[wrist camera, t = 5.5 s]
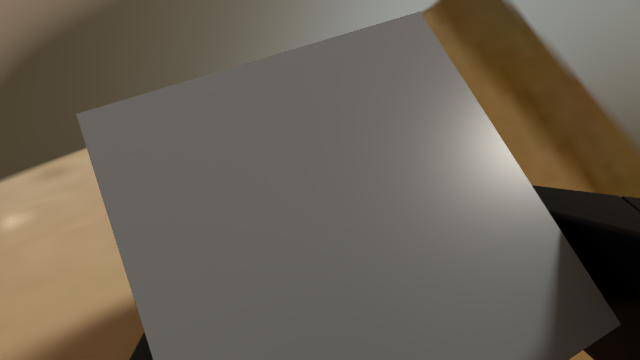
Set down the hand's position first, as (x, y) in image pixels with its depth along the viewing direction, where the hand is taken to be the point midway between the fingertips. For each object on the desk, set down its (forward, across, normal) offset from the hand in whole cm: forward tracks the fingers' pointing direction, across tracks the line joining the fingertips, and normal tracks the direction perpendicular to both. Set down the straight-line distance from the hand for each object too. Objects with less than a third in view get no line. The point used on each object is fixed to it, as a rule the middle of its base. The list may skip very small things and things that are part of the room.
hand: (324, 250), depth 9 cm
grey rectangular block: (+5, 0, +5) cm, 7 cm away
